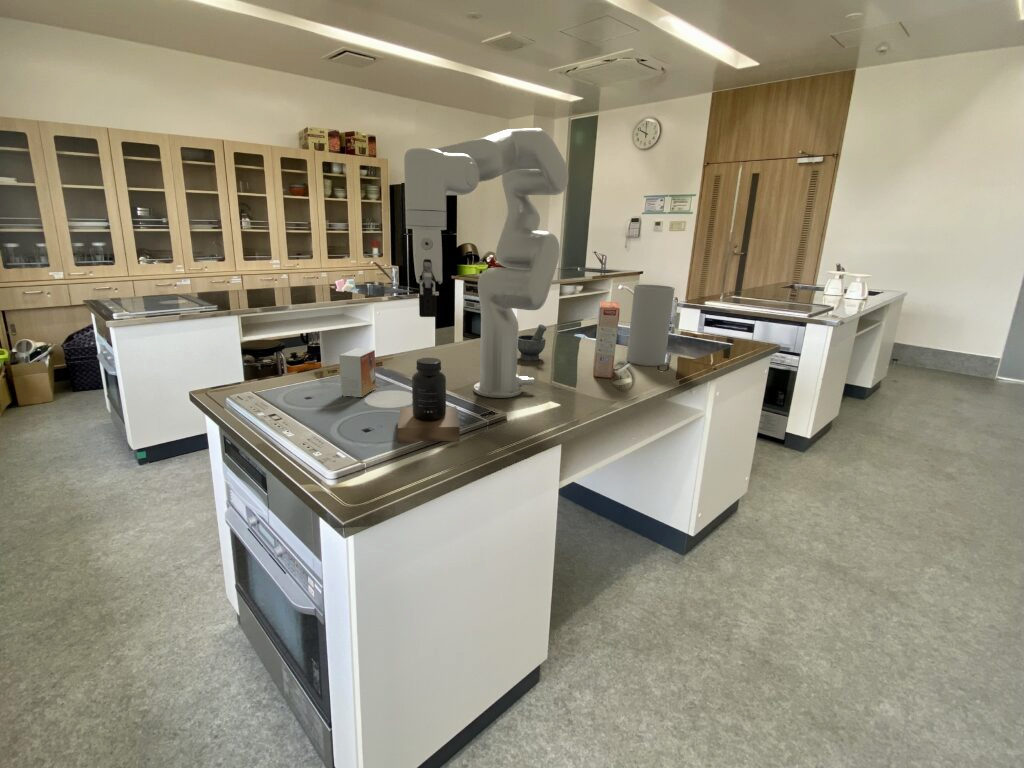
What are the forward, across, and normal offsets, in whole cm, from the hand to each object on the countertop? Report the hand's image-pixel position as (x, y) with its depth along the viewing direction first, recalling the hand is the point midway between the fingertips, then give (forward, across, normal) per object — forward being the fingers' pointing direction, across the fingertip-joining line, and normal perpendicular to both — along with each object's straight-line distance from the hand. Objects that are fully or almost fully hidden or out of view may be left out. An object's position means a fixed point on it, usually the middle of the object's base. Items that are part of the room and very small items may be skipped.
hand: (427, 312), depth 101 cm
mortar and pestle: (+26, +59, -35) cm, 73 cm away
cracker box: (+26, +42, -54) cm, 73 cm away
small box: (+25, +25, +17) cm, 39 cm away
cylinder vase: (+26, +54, -73) cm, 94 cm away
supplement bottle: (+22, -1, 0) cm, 22 cm away
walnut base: (+24, -2, 0) cm, 24 cm away
